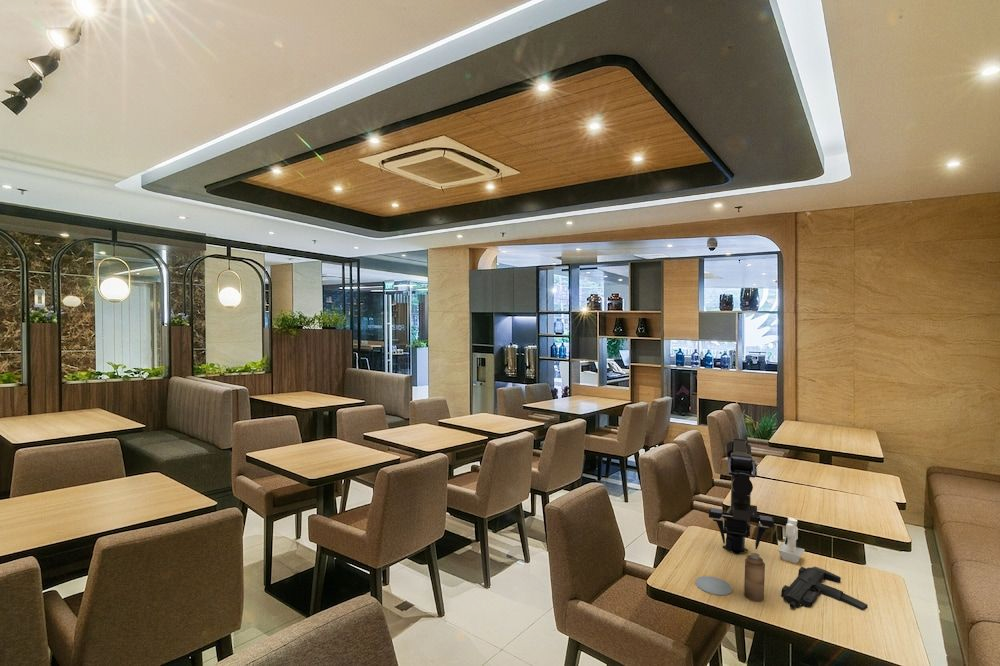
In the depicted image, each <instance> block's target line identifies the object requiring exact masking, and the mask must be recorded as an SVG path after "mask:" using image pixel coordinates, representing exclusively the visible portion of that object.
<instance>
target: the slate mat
mask: <svg viewBox="0 0 1000 666" xmlns="http://www.w3.org/2000/svg"><path fill="white" fill-rule="evenodd" d="M695 584H696V585H695V586H697V588H698V589H700V590H701V591H703V592H705V593H707V594H710V595H715V596H728V595H730V594H732V592H733V586H732V585H731V584H730V583H729V582H728V581H726V580H724V579H722V578H719V577H715V576H709V575H707V576H706V575H705V576H700V577H698V578H696V579H695Z"/></svg>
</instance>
